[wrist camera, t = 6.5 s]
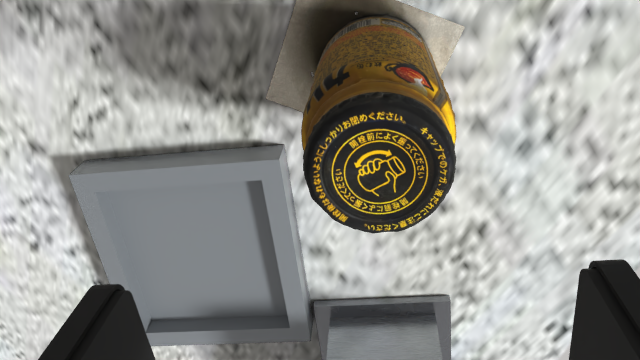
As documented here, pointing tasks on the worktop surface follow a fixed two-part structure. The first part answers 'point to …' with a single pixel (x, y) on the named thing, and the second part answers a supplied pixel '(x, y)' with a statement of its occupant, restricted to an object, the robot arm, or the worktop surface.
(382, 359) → the block
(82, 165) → the tray
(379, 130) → the condiment
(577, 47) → the worktop surface
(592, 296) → the robot arm
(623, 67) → the worktop surface
